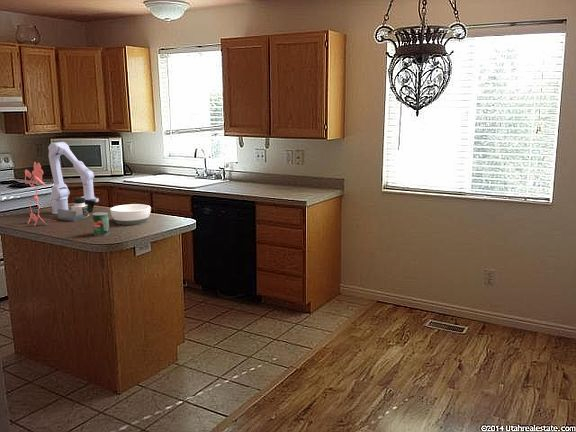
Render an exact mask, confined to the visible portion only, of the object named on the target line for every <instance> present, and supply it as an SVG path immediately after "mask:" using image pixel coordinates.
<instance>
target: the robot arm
mask: <svg viewBox="0 0 576 432" xmlns="http://www.w3.org/2000/svg"><path fill="white" fill-rule="evenodd" d="M47 148H48V160H49V166H50V170H51V171H50V172H51V175H52V180H53V185H52V187H51V197H52V199H53V200H52V201H51V209H52V212H51V214H53V215H54V214H55V215H58V210H57V209H65V210H69V203H68V202H69V200H68V199H69V196H70V194H71V192H70V190H69V188H68V184H66V183H65V182H64V177H63V173H62V168H61V167H62V166H61V163H60V157H61V156H65V157H66V158H67V160H69V161H70V162H71V163H72V164H73V166H72V167H73V169H74V170H75V171H76V172H78V174H79V175H80V176H79V177H80V180H81V182H82V187H83V196H81V197H83V198H85V204H87V205H88V209H89V214H91V213H92V214H93V213H94V212H93V211H94V207H95V204H96V203H98V202H99V201H100V199H99V197H96V196H95V192H94V189H95V188H94V179H95V172H94V171H93V170H91V169H89V168H88V167H87V166H86V165H85V164H84V162H83V161H82V160H78V158H77V157H76V155H75V154H74V153H73V152H72V150H71V149H70V146H69V145H68V144H67V143H66V142H65V141H59V142H51V143H50V144H49V146H48V147H47Z"/></svg>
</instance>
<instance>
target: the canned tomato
mask: <svg viewBox="0 0 576 432" xmlns="http://www.w3.org/2000/svg"><path fill="white" fill-rule="evenodd" d="M91 215H92V225H93V226H92V227H93V235H94V236H96V235H97V236H98V237H101V236H102V235H103V236H108V235H110V232H111V231H110V221H109V220H110V219H109V212H108V211H98V212H92V214H91ZM103 236H102V237H103Z"/></svg>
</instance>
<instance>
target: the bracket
mask: <svg viewBox="0 0 576 432" xmlns="http://www.w3.org/2000/svg"><path fill="white" fill-rule="evenodd" d="M57 210H58V214H57V219H58V220H62V221H66V222H67V221H69V222H74V223H75V222H77V221H81V220H85V219H86V217H85V215H84V214H82V215H78V216H76V212H75V211H72V209H70V210H69V209H68V210H65V209H57Z"/></svg>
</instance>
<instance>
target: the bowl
mask: <svg viewBox="0 0 576 432" xmlns="http://www.w3.org/2000/svg"><path fill="white" fill-rule="evenodd" d="M151 211H152V207H151V206H150V205H148V204H141V203H130V204H121V205H114V206H113V207H112V206H111V207H110V209H109V212H110V216H111V218H112V219H113V221H114V222H115V224H117V225H120V224H122V225H123V226H131V225H134V226H135V225H140V224H144V223H146V222H147V221H148V219H149V217H150V214H151ZM122 225H121V226H122Z"/></svg>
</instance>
